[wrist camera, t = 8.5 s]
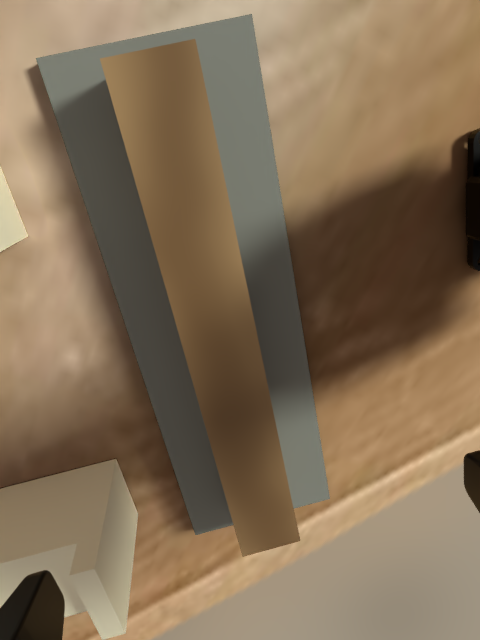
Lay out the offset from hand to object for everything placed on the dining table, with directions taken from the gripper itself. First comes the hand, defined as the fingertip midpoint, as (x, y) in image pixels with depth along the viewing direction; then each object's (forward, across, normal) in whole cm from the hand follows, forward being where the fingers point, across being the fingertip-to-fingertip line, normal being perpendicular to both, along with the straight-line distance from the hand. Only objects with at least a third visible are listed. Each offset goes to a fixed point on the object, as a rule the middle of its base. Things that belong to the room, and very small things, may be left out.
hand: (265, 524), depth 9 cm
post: (+12, +10, +8) cm, 18 cm away
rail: (+12, 0, 0) cm, 12 cm away
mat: (+12, 0, 0) cm, 13 cm away
